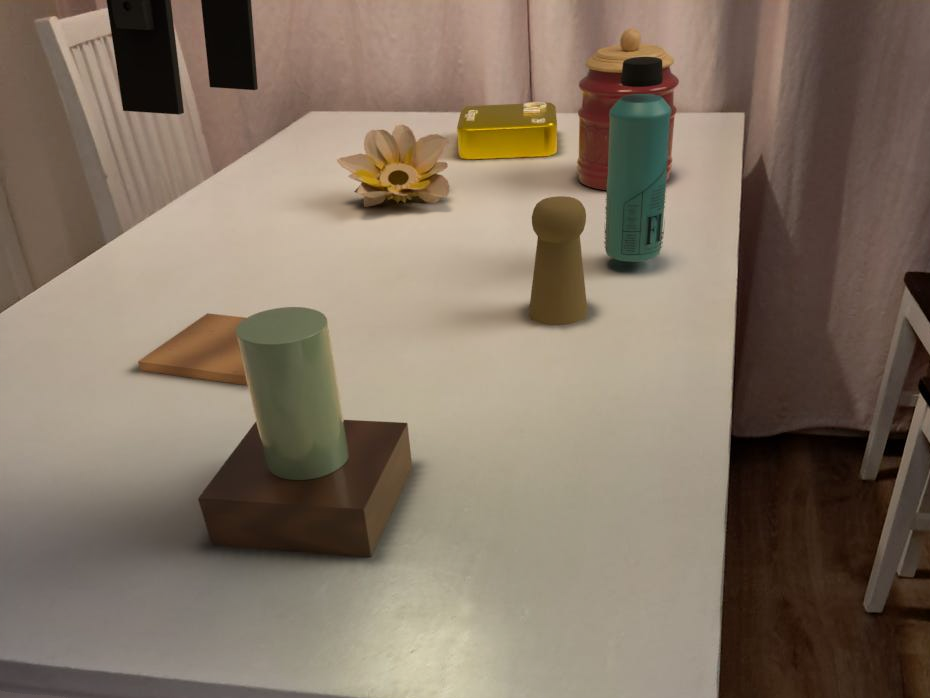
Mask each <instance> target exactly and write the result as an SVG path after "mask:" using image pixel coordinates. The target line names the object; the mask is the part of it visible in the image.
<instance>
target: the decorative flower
mask: <svg viewBox="0 0 930 698" xmlns="http://www.w3.org/2000/svg"><path fill="white" fill-rule="evenodd" d="M448 143H449V140H448V139H447V138H446V137H444V136H443V135H440V134H438V133H437V134H435V133H434V134H428V135H426V136H423V137H420V138H419V139H418V140H417V139H416V135H415V134H414V132H413V131H412V129H411V128H410V127H409V126H407V125H405V124H403V123H402V124H396V125H394V128H393V130H392V133H390V132H389V131H388V130H385V129H371V130H370V131H368V132H367V133H365V137H364V140H363V150H364V152H365V153H355V154H351V155H348V156H344V157H343V156H342V157H340V158H336V162H337V164H338V165H339V166H340V167H342V168H343V169H345V170H346V171H348V172H349V173H351V174H349V175H347V178H349V179H352V180H354V181H357V182H359V183H360V185H359V186H358V187H357V188H356V189H355V190H353V193H356V194H357V195H361V196H364V198H363V206H364V208H368V207H373V206H377V205H380V204H382V203H383V202H384V201H385V200H386V199H387V201H390V200H394V201H395V202H396V203H397V204H399V202H403V203H404V204H406V201H407V200H410V201H412V198H413V197H417V196H418V197H419V198H420V199H421V200H423V201H424V202H425V203H429V204H432V203H433V204H434V203H438V202H439V201H440V200H441V199H442V198H447V197H448V196H449V194H450V183H449V181H448V180H447V178H446V177H445V176H444V175H442V174H439V173H441V172H444V171H445V170H446V169H448V162H446V161H439V160H440V158H441V157H442V155H443V153H444V151H445V149H446V148H447V146H448Z"/></svg>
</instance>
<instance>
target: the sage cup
mask: <svg viewBox="0 0 930 698" xmlns="http://www.w3.org/2000/svg"><path fill="white" fill-rule="evenodd" d="M245 318H246V319H244V320H243V321H241V322H240V323H239V324H238V326H237V327H236V336H237V341H238V345H239V349H240V354H241V358H242V362H243V367H244V371H245V375H246V380H247V384H248V385H247V388H248V391H249V396H250V402H251V406H252V409H253V414H254V418H255V422H256V423H257V427H258V431H259V436H260V440H261V444H262V449H263V453H264V457H265V462H266V466H267V468H268V470H269V471H270V472H271V473H272V474H274V475H275V476H278V477H280V478H284V479H289V480H309V479H315V478H319V477H323V476H326V475H328V474H331V473H333V472H335V471H336V470H338V469H339V468H341V467H342V466H343V465H344V464H345V463H346V461H347V459H348V456H349V451H348V445H347V439H346V432H345V426H344V420H345V419H344V413H343V408H342V403H341V395H340V389H339V384H338V377H337V370H336V366H335V359H334V354H333V347H332V340H331V334H330V328H329V321H328V318H327V316H326V315H325V314H324V313H323V312H321V311H319V310H317V309H314V308H310V307H303V306H284V307H277V308H271V309H266V310H263V311H259V312H257V313H254V314H252V315H249V316H248V317H245Z"/></svg>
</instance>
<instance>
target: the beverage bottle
mask: <svg viewBox="0 0 930 698" xmlns="http://www.w3.org/2000/svg"><path fill="white" fill-rule="evenodd" d="M662 81H663V74H662V60H661V59H660V58H656V57H634V58H629V59H626V60H625V61H624V62H623V67H622V75H621V84H622V85H624V86H629V87H649V86H655V85H659V84H661V83H662ZM670 115H671V108H670V106H669V105H668V104H667V102H666V101H665V100H664V99H663V98H662V97H661V96H659V95H654V94H632V95H626V96H623V97H621V98H620V99H619V100H618V101H617V102H616V103H615V104H614V105H613V107H612V108H611V109H610V112H609V117H610V126H609V155H608V175H607V176H608V178H607V190H606V191H605V192H606V196H605V197H606V198H605V201H604V203H605V207H604V209H605V210H604V215H605V221H604V224H605V225H604V226H603V227H604V236H603V238H604V240H603V244H604V250H605V253H606V255H607V256H608V257H609V258H611V259H614V260H617V261H621V262H643V261H648V260H652V259H654V258H656V257H658V256H659V255H660V253H661V250H662V248H663V246H662V245H663V244H664V241H663V240H664V234H665V229H664V224H665V222H666V221H665V219H664V218H665V211H666V209H665V208H666V206H665V204H666V202H667V200H666V199H667V197H666V196H667V195H666V191H667V181H666V175H667V165H669V164H667V161H668V145H669V143H668V141H669V126H670ZM669 150H670V148H669ZM605 186H606V185H605Z"/></svg>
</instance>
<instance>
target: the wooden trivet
mask: <svg viewBox="0 0 930 698" xmlns="http://www.w3.org/2000/svg"><path fill="white" fill-rule="evenodd" d="M246 318H247V317H245V316H244V317H243V316H234V315H227V314H217V313H210V312H207V313H206V314H204V315H203V316H201V317H200V318H199V319H197V320H196V321H194V322H193V323H191V324H189V325H188V326H187V327H186V328H184V329H183V330H181V331H180V332H178V333H177V334H175V335H174V336H173V337H171V338H169V339H168V340H167V341H165V342H164V343H162V344H161V345H159V346H158V347H156V349H154V350H152V351H151V352H150V353H148V354H146V355H145V356H143V357H142V358H141V359H140V360H138V361H137V363H138V366H139V370H140V371H141V372H148V373H156V374H161V375H170V376H177V377H182V378H184V377H185V378H191V379H199V380H205V381H213V382H220V383H226V384H234V385H242V386H248V384H247V380H246V375H245V371H244V367H243V362H242V358H241V354H240V349H239V345H238V341H237V336H236V327H237V326H238V324H239V323H240V322H241V321H243V320H244V319H246Z"/></svg>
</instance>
